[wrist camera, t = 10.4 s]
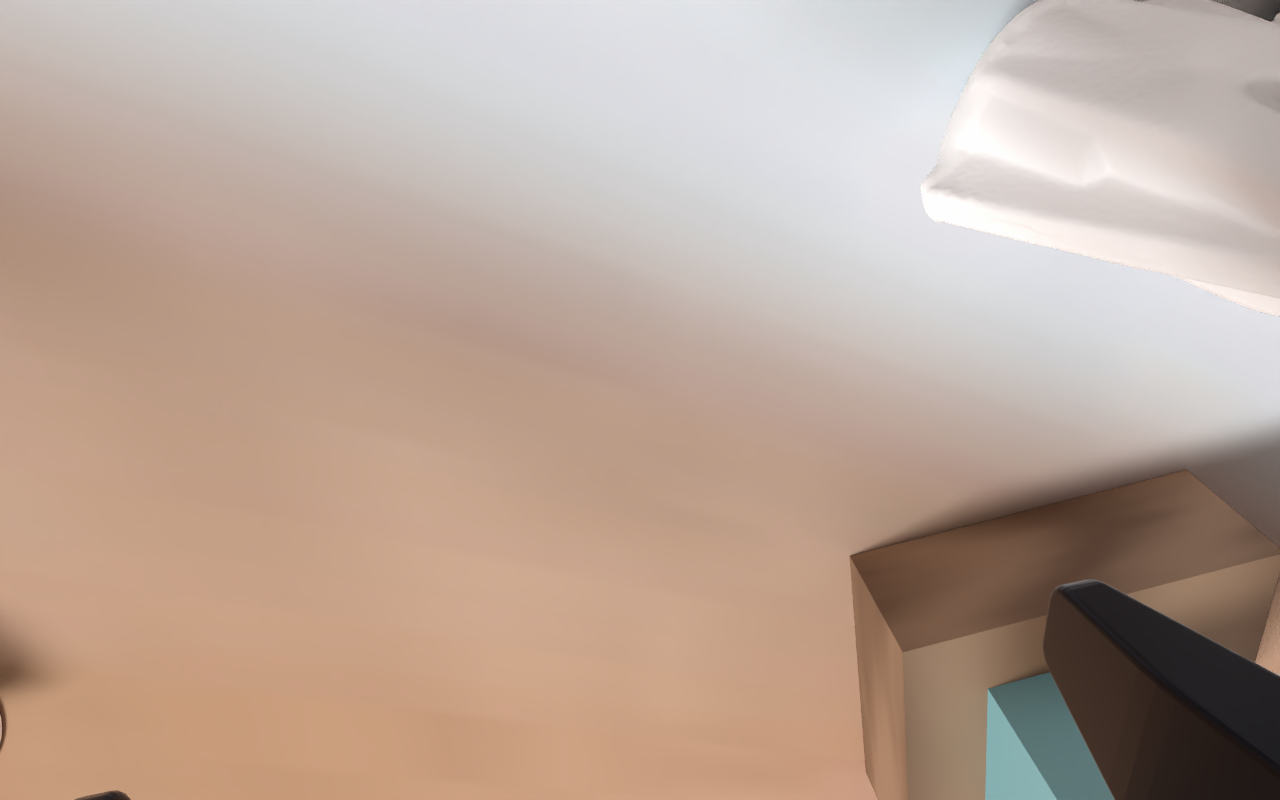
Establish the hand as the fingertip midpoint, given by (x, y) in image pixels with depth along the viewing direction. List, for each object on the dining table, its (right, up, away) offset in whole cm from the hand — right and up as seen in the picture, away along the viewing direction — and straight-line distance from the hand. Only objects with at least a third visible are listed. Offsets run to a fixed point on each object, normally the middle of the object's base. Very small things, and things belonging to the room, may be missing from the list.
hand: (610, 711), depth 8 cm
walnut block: (+12, -4, +19) cm, 23 cm away
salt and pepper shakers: (+11, +10, +11) cm, 19 cm away
